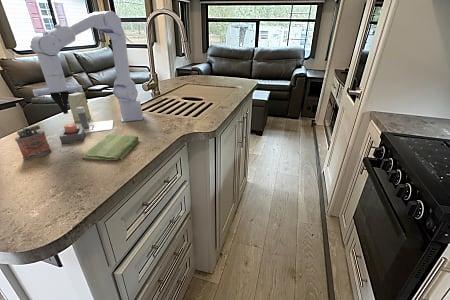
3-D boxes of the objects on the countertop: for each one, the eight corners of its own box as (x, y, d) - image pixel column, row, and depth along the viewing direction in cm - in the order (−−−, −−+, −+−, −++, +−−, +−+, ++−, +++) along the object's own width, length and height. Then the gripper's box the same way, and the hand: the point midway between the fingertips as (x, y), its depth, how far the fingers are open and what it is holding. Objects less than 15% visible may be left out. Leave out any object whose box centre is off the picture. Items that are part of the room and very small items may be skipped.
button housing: (85, 134, 96) (83, 127, 95) (83, 141, 90) (80, 133, 89) (65, 136, 94) (63, 129, 93) (61, 143, 88) (59, 136, 87)
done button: (78, 129, 93) (76, 123, 92) (76, 132, 90) (75, 126, 89) (66, 130, 92) (65, 124, 91) (64, 134, 89) (62, 128, 87)
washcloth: (81, 162, 77) (78, 153, 75) (109, 139, 93) (107, 132, 91) (120, 163, 76) (118, 155, 74) (142, 140, 92) (141, 133, 90)
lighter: (26, 161, 76) (14, 132, 72) (21, 159, 78) (9, 130, 73) (53, 151, 82) (43, 124, 78) (48, 149, 84) (38, 122, 80)
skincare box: (82, 122, 109) (74, 95, 104) (73, 121, 110) (65, 95, 104) (91, 117, 115) (84, 92, 109) (83, 117, 115) (76, 91, 110)
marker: (91, 127, 102) (85, 106, 98) (86, 129, 100) (80, 108, 96) (85, 126, 103) (79, 106, 99) (80, 129, 100) (74, 108, 96)
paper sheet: (113, 120, 111) (113, 119, 111) (112, 129, 101) (112, 128, 101) (71, 125, 105) (71, 124, 105) (66, 135, 95) (66, 134, 95)
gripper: (77, 71, 88) (87, 107, 94) (29, 74, 81) (43, 113, 87) (78, 74, 82) (88, 112, 88) (26, 78, 76) (41, 118, 82)
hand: (66, 113), depth 88 cm, fingers closed
